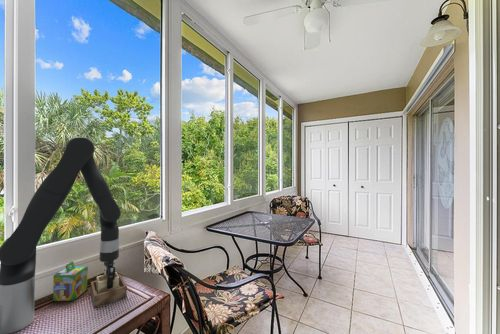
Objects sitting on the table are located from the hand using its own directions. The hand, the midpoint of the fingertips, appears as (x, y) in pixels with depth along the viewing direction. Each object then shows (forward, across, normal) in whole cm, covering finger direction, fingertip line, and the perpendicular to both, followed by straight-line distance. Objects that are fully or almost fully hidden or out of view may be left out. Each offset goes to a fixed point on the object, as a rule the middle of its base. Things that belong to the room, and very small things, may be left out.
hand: (108, 284), depth 101 cm
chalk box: (+5, -10, -13) cm, 17 cm away
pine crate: (+2, 0, 0) cm, 2 cm away
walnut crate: (+5, 0, 0) cm, 5 cm away
